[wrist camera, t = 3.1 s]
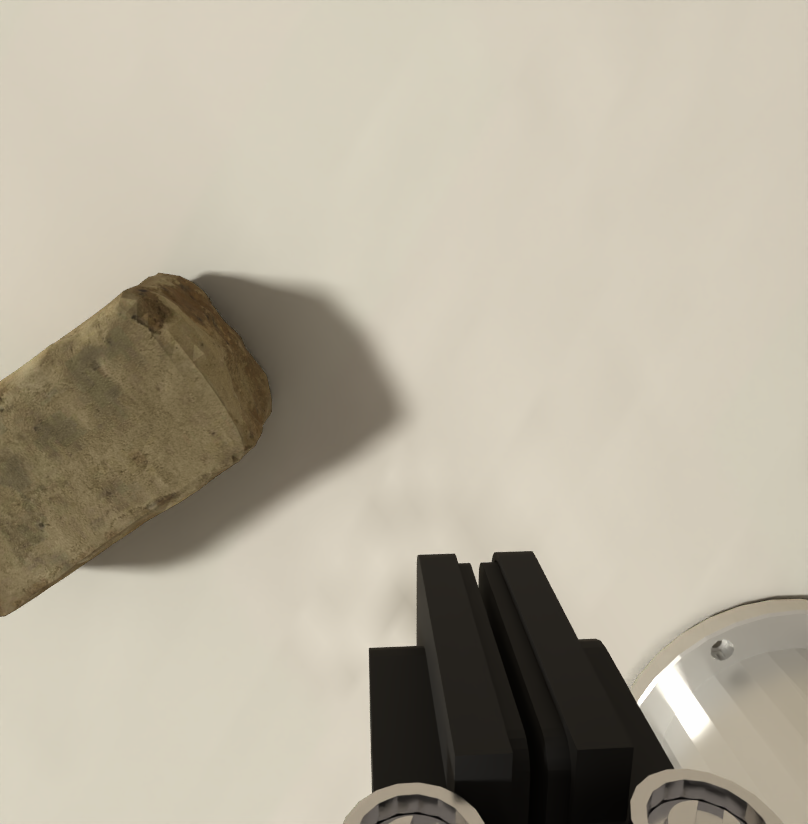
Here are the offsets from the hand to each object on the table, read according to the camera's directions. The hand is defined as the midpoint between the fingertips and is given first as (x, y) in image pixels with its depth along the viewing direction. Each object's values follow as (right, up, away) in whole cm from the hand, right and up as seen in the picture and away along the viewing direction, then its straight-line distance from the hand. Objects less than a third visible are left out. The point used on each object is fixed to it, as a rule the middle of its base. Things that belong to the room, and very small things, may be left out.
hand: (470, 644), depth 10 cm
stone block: (-11, +3, +14) cm, 18 cm away
